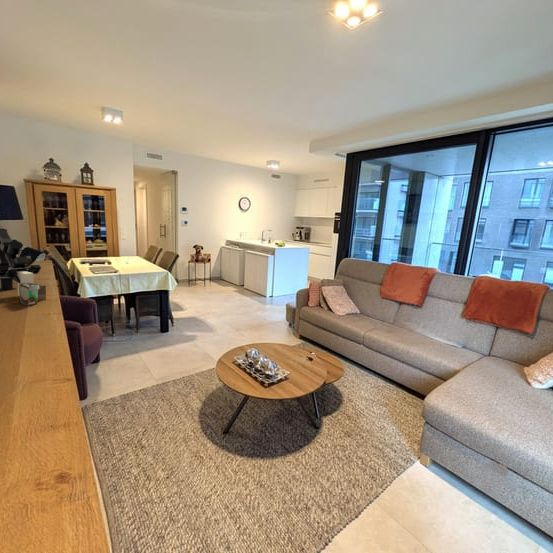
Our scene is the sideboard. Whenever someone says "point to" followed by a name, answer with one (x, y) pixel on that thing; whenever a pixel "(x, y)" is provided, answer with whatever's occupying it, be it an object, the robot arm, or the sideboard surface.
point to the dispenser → (39, 292)
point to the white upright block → (25, 278)
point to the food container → (29, 293)
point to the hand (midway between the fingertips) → (25, 282)
